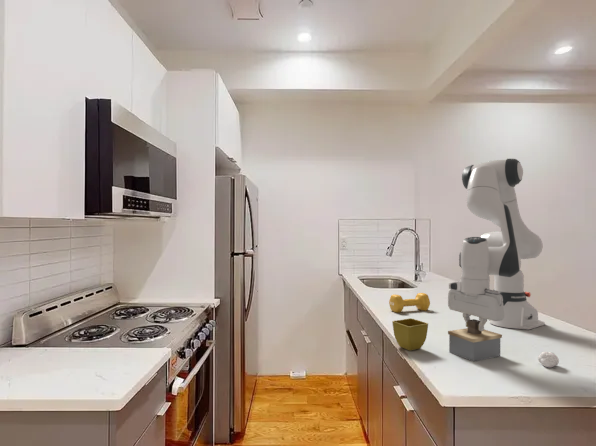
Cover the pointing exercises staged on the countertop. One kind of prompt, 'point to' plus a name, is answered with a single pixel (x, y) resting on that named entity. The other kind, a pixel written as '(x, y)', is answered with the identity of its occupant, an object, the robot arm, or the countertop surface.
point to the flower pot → (410, 333)
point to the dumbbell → (409, 302)
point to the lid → (474, 333)
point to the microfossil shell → (548, 359)
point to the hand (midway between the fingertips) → (474, 328)
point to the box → (474, 348)
